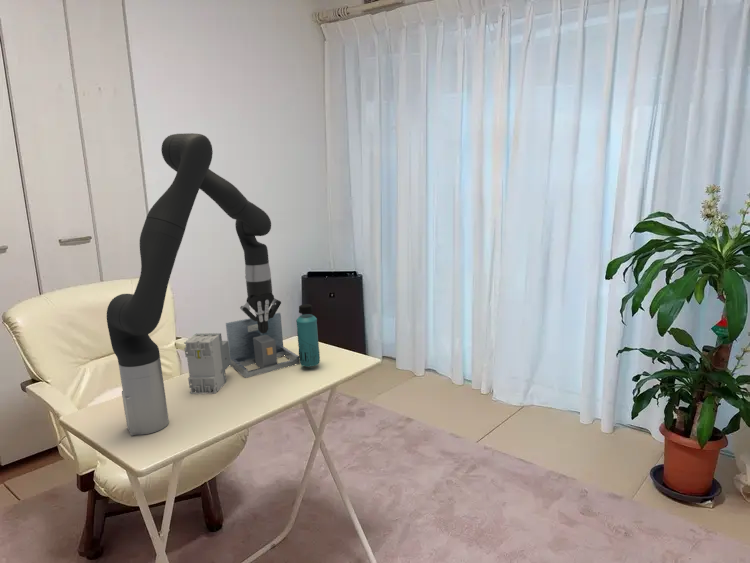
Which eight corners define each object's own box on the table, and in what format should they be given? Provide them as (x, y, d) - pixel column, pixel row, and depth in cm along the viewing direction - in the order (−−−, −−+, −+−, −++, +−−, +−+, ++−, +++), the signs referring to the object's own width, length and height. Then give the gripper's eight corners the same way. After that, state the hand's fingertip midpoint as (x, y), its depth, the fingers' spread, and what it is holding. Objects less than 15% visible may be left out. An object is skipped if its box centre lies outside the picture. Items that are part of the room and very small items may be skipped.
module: (265, 371, 166) (262, 343, 164) (255, 364, 172) (253, 337, 170) (278, 368, 168) (276, 340, 166) (268, 361, 175) (266, 334, 173)
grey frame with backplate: (245, 377, 162) (240, 333, 159) (230, 365, 173) (225, 323, 170) (299, 363, 171) (296, 321, 168) (282, 352, 182) (279, 312, 179)
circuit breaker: (233, 373, 165) (228, 326, 162) (215, 393, 151) (209, 342, 148) (210, 374, 166) (204, 327, 163) (190, 393, 152) (183, 342, 149)
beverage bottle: (323, 363, 170) (318, 302, 166) (317, 371, 164) (313, 307, 160) (302, 363, 171) (298, 302, 167) (296, 371, 165) (291, 308, 161)
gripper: (241, 283, 158) (247, 340, 162) (283, 276, 165) (288, 330, 169) (233, 279, 164) (238, 334, 168) (273, 273, 171) (278, 325, 175)
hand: (263, 332), depth 168 cm, fingers closed
